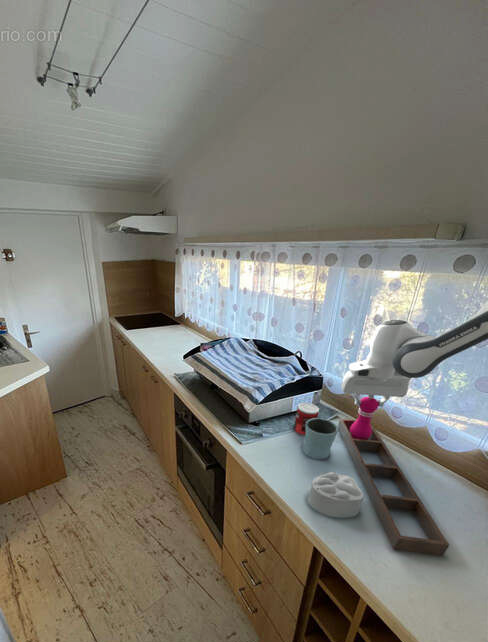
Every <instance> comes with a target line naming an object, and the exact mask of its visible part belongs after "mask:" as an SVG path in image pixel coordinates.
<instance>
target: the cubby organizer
mask: <svg viewBox="0 0 488 642" xmlns="http://www.w3.org/2000/svg"><path fill="white" fill-rule="evenodd" d="M356 420H357V419H349V418H339V421H338V425H337V427H338V432H339V434H340V436H341V437H342V440H343V442H344V445H345V447H346V450H347V451H348V454H349V456H350V458H351V460H352V462H353V465H354V467H355V469H356V472H357V473H358V476H359V478H360V480H361V482H362V484H363V486H364V489H365V491H366V493H367V496H368V498H369V500H370V503H371V505H372V507H373V509H374V511H375V513H376V516H377V517H378V520H379V522H380V524H381V527H382V529H383V531H384V533H385V535H386V537H387V540H388V542H389V544H390V547H391V549H392V550H393V551H401V552H406V553H413V554H414V553H415V554H421V555H428V556H434V557H435V556H436V557H444V556H445V554H446V552H447V550H448V549H449V548H450V544H449V541H447V539H446V537H445V536H444V534H443V533H442V531H441V530H440V528H439V527H438V525H437V524H436V522H435V520H434V519H433V517H432V515H431V514H430V512H429V511H428V510H427V507H426V506H425V504H424V503H423V501H422V500H421V498H420V497H419V495H418V493H417V492H416V491H415V489H414V487H413V486H412V484H411V482H409V479H408V478H407V476H406V475H405V474H404V472H403V470H402V469H401V467H400V465H399V463H398V462H397V461H396V459H395V458H394V456H393V455H392V453H391V451H390V450H389V448H388V447H387V445H386V444H385V442H384V441H383V439H382V438H381V436H380V434H379V433H378V431H377V430H376V428H375V427H374V425H373V423H372V422H371V421H370V425H371V429H372V433H371V436H370V437H369V438H368V440H361V439H352V437H351V435H350V434H351V433H350V427H351V425H352V424H353V423H354V422H355V421H356ZM360 452H370V453H377V454H378V456H379V457H380V459H381V460H382V462H383V464H376V463H366V462H365V460H364V458H363V456H362V455H361V453H360ZM373 477H374V478H385V479H392V480H393V481H394V483H395V485H396V487H397V488H398V491H400V493H401V495H402V496H397V495H390V494H389V495H387V494H381V493H380V491H379V489H378V487H377V485H376V482H375V481H374V479H373ZM389 510H393V511H402V512H410V513H412V514H413V515H414V517H415V519H416V521H417V522H418V524H419V526H420V527H421V529H422V531H423V533H424V534H425V536H426V537H427V538H423V537H415V536H407V535H401V533H400V531H399V529H398V527H397V525H396V523H395V520H394V518H393V517H392V514H391V513H390V511H389Z"/></svg>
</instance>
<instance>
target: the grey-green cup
mask: <svg viewBox="0 0 488 642" xmlns="http://www.w3.org/2000/svg"><path fill="white" fill-rule="evenodd" d="M338 432H339V429H338V425H337V424H336V423H334V422H333V421H331V420H329V419H326V418H322V417H318V418H312V419H310V420H308V421H307V422H306V432H305V433H306V435H304V439H303V448H302V451H303V453H304V454H305V455H306V456H308V457H310V458H312V459H315V460H324V459H327V458H328V457H329V456H330V454H331V453H330V452H331V448H332V446H333V444H334V442H335V438H336V435H337V433H338Z"/></svg>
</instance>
